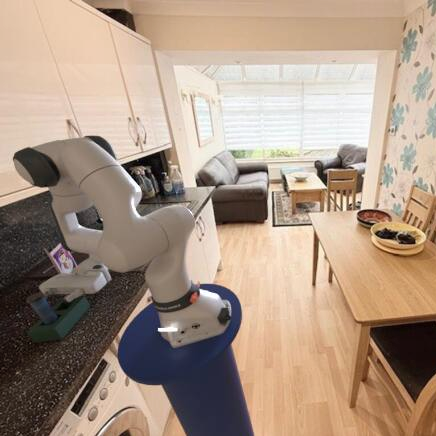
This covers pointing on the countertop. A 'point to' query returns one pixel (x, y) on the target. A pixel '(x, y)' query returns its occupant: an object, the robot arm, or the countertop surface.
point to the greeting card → (62, 260)
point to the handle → (42, 308)
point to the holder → (60, 320)
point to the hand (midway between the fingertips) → (52, 300)
